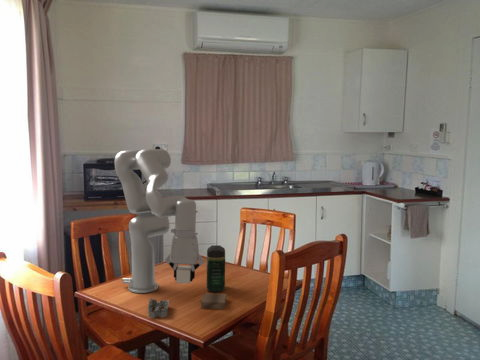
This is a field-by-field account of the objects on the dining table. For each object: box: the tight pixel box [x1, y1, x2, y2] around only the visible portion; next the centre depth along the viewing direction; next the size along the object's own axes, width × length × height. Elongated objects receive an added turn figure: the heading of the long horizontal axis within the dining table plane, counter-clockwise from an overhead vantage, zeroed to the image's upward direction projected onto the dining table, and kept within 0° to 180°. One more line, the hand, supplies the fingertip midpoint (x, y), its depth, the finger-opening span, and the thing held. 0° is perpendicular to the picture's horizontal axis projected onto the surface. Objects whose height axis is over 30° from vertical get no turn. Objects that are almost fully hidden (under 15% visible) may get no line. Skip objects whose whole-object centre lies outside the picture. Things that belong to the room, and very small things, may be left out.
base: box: [200, 292, 227, 310], centre depth 175 cm, size 9×9×3 cm
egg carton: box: [147, 297, 170, 319], centre depth 166 cm, size 11×8×4 cm
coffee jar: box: [206, 244, 226, 293], centre depth 191 cm, size 10×8×19 cm
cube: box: [175, 265, 191, 284], centre depth 167 cm, size 5×5×5 cm
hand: (184, 279), depth 168 cm, fingers closed on cube, 5 cm apart
